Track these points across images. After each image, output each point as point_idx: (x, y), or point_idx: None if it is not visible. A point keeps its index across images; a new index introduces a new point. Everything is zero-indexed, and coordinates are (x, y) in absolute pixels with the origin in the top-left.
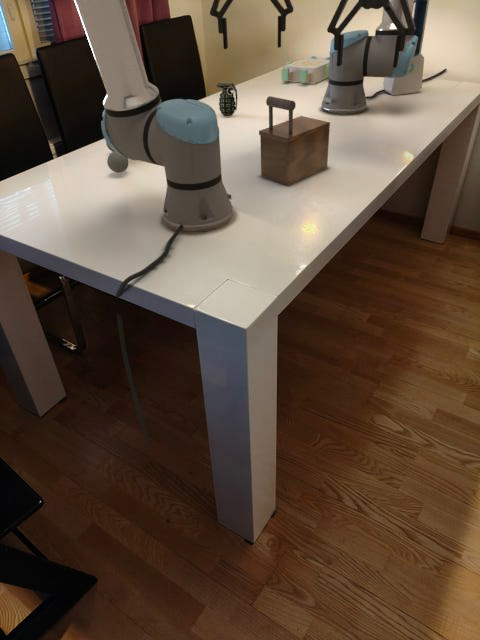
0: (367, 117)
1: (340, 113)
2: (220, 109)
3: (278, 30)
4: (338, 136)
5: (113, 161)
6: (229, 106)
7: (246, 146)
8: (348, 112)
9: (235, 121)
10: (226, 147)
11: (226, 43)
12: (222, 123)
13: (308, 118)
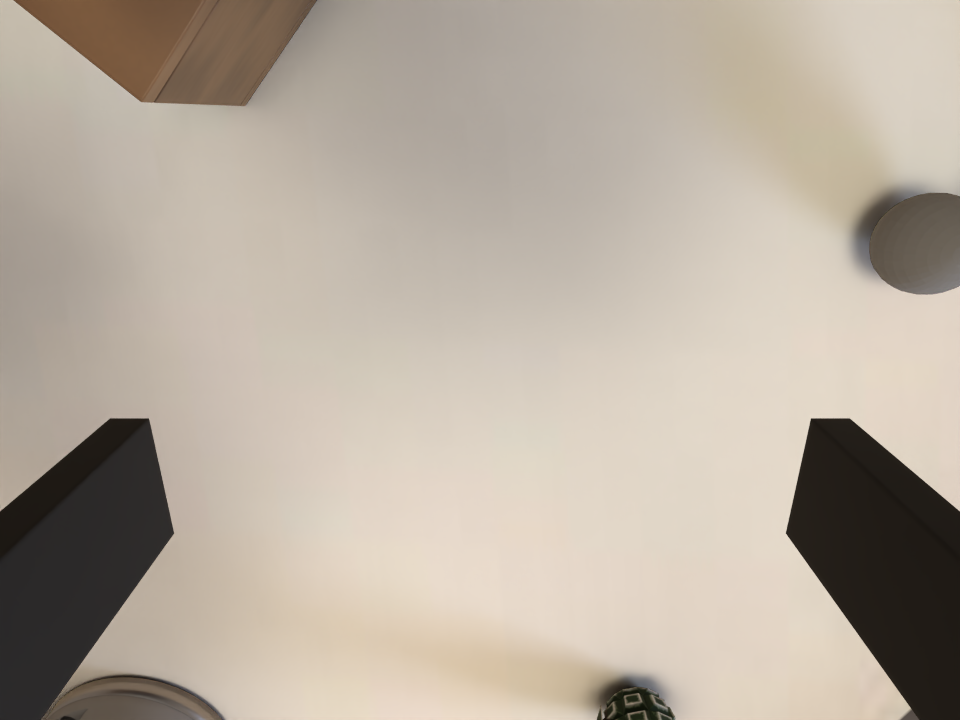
0: None
1: (141, 682)
2: (669, 712)
3: (8, 542)
4: None
5: None
6: (631, 714)
7: (525, 313)
8: (106, 685)
9: (594, 631)
10: (621, 304)
11: (841, 462)
12: (651, 611)
13: (77, 26)
